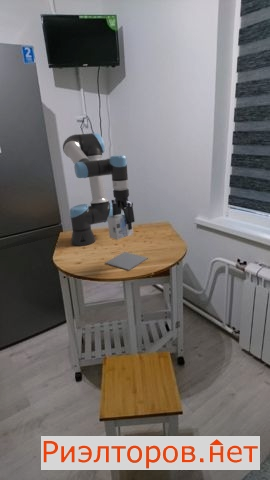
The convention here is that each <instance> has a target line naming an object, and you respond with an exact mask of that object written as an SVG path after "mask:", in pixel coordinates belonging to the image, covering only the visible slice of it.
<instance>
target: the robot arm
mask: <svg viewBox="0 0 270 480" xmlns="http://www.w3.org/2000/svg"><path fill="white" fill-rule="evenodd" d="M62 150H63V153H64V155H65V156H66V157H67V158H69V159H70V160H71V161H72V163H73V165H74V166H73V167H74V173H75V177H76V178H78V179H86V178H87V179H89V185H90V186H89V187H90V192H91V202H90V205H88V204H86V203H83V204H77V205H75V206H72V207H71V208H70V209H69V217H70V221H71V224H70V225H71V230H72V233H71V240H70V242H71V245H72V246H76V247H77V246H78V247H82V246H83V247H84V246H88V245H89V246H90V245H92V244H94V243H95V242H96V237H95V234H94V233H93V230H92V226H91V225H97V224H102V223H108V217H111V216H114V215H118V214H121V213H122V211H123V213H124V215H125V218H126V221H127V223H126V231H127V236H126V237H130V236H132V235H133V234H132V225H133V223H135V222H136V221H135V216H134V208H133V207H134V206H133V205H134V202H133V201H129V196H130V192H129V191H130V190H129V178H128V177H129V176H128V162H127V157H126V155H124V154H118V155H111V156H110V157H109V158H106V159H101V158H102V157H103V154H104V153H105V142H104V140H103V137H102V136H101V134H99V133H95V132H94V133H93V132H92V133H91V132H90V133H81V134H80V133H79V134H72V135H69V136H68V137H67V138H65V140H64V142H63V144H62ZM104 176H111V181H112V189H113V191H112V192H113V193H112V194H113V198H114V199H111V202H110V201H109V199H108V198H107V196H106V191H105V190H106V189H105V188H106V187H105V183H104Z"/></svg>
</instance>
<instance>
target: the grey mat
mask: <svg viewBox="0 0 270 480" xmlns="http://www.w3.org/2000/svg"><path fill="white" fill-rule="evenodd" d="M148 259H149V257H146V256H142V255H138V254H135V253H132V252H131V253H130V252H127V251H124V252H121V253H120V254H118V255H116V256H114V257H113V258H111V259H109V260H107V261H105V262H104V263H105V264H106V265H109V266H113V267H115V268H119V269H123V270H125V271H131V270H133V269H134V268H136V267H137V266H139V265H141V264H142V263H144V262H145V261H146V260H148Z"/></svg>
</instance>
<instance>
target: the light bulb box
mask: <svg viewBox="0 0 270 480" xmlns="http://www.w3.org/2000/svg"><path fill="white" fill-rule="evenodd" d="M126 223H127V221H126V218H125V215H124V212H121V214H118V215H114V216H111V217H108V222H107V225H108V226H107V228H108V235H109V238H111V239H114V240H120V239H124V238H126V237H128V236H127V231H126ZM133 227H134V226H133V224H132V235H134V228H133Z"/></svg>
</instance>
